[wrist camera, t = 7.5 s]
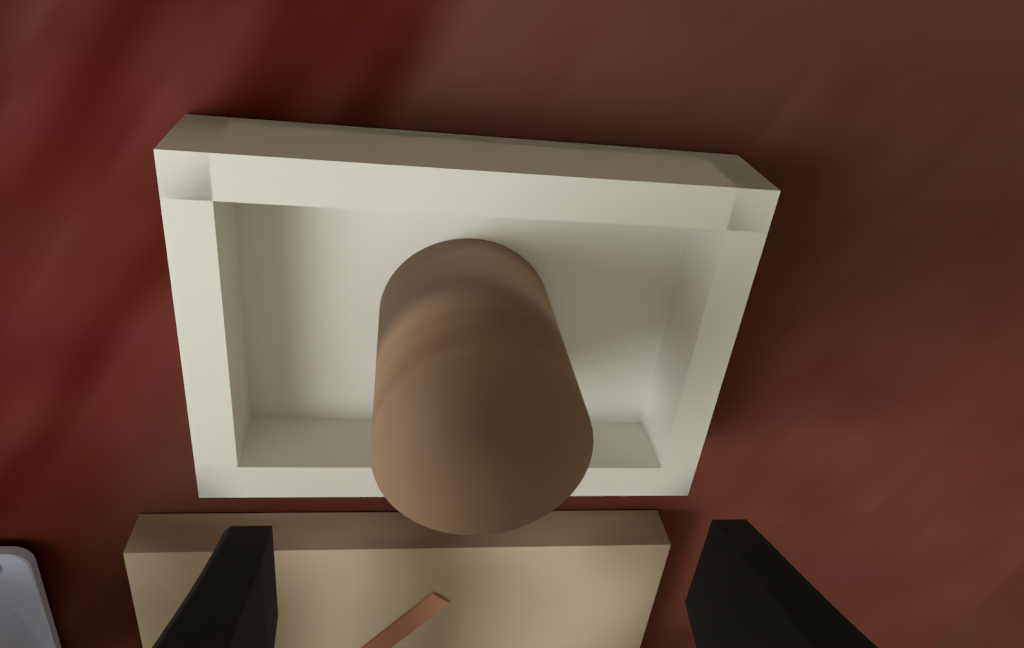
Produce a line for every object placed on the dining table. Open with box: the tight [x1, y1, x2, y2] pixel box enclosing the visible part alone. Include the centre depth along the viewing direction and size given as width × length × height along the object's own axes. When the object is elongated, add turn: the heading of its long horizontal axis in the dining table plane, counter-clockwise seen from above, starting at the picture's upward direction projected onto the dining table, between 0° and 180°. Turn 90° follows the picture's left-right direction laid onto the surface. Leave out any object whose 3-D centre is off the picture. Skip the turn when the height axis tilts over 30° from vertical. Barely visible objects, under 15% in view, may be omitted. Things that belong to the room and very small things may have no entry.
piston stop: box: [370, 238, 594, 535], centre depth 17 cm, size 4×4×6 cm
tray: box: [154, 114, 780, 498], centre depth 19 cm, size 13×9×2 cm
